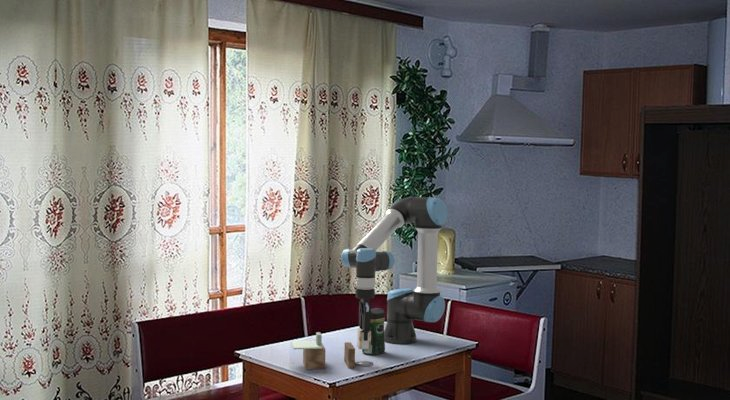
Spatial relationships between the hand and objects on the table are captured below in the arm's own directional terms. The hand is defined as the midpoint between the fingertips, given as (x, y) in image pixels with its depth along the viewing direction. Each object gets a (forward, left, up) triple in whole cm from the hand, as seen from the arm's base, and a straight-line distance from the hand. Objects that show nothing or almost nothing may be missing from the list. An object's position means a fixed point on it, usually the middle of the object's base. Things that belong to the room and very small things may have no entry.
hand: (363, 346), depth 310 cm
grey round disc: (0, 0, -7) cm, 7 cm away
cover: (+23, 0, +1) cm, 23 cm away
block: (0, 0, 0) cm, 0 cm away
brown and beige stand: (+14, 0, -7) cm, 15 cm away
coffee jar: (-7, -18, -7) cm, 21 cm away
